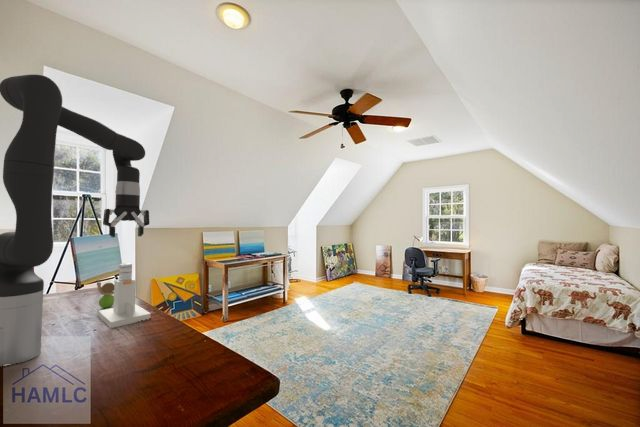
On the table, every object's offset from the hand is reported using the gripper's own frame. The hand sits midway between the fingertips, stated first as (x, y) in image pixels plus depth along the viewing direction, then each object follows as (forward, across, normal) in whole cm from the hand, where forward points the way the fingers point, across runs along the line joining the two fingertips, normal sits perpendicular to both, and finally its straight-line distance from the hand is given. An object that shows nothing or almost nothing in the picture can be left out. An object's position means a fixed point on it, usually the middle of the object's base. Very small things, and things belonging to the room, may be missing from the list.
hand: (126, 236), depth 103 cm
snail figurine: (+31, -2, +18) cm, 36 cm away
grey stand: (+30, 0, 0) cm, 30 cm away
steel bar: (+27, 0, 0) cm, 27 cm away
